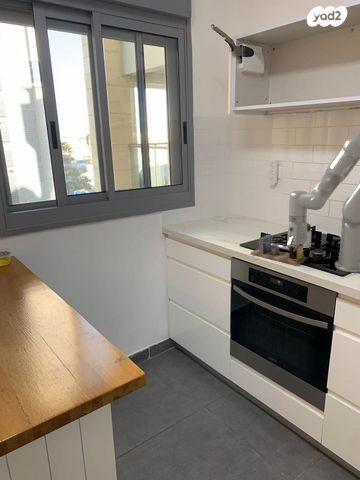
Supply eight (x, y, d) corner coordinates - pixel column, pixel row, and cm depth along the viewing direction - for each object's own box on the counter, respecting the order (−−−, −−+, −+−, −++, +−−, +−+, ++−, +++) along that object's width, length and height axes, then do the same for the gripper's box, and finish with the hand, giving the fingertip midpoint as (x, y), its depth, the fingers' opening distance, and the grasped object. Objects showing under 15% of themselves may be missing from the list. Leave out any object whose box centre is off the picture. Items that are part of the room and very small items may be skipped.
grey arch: (272, 252, 178) (272, 235, 176) (263, 256, 173) (263, 239, 171) (268, 251, 180) (268, 234, 177) (258, 255, 175) (259, 238, 172)
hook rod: (302, 258, 164) (303, 245, 163) (297, 260, 161) (297, 248, 160) (273, 251, 176) (273, 239, 174) (267, 253, 173) (267, 242, 171)
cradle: (278, 256, 173) (279, 247, 172) (275, 257, 171) (275, 249, 170) (275, 255, 174) (275, 246, 173) (271, 256, 172) (271, 248, 171)
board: (307, 260, 166) (307, 257, 165) (296, 266, 159) (296, 263, 159) (262, 249, 184) (262, 247, 183) (250, 254, 177) (250, 252, 177)
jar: (302, 251, 178) (303, 228, 174) (289, 247, 185) (290, 225, 181) (313, 247, 183) (314, 224, 179) (300, 243, 189) (301, 222, 186)
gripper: (295, 224, 151) (293, 264, 156) (314, 216, 162) (312, 253, 167) (279, 221, 156) (278, 260, 161) (299, 214, 167) (298, 250, 172)
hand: (296, 256), depth 164 cm, fingers closed on hook rod, 5 cm apart
